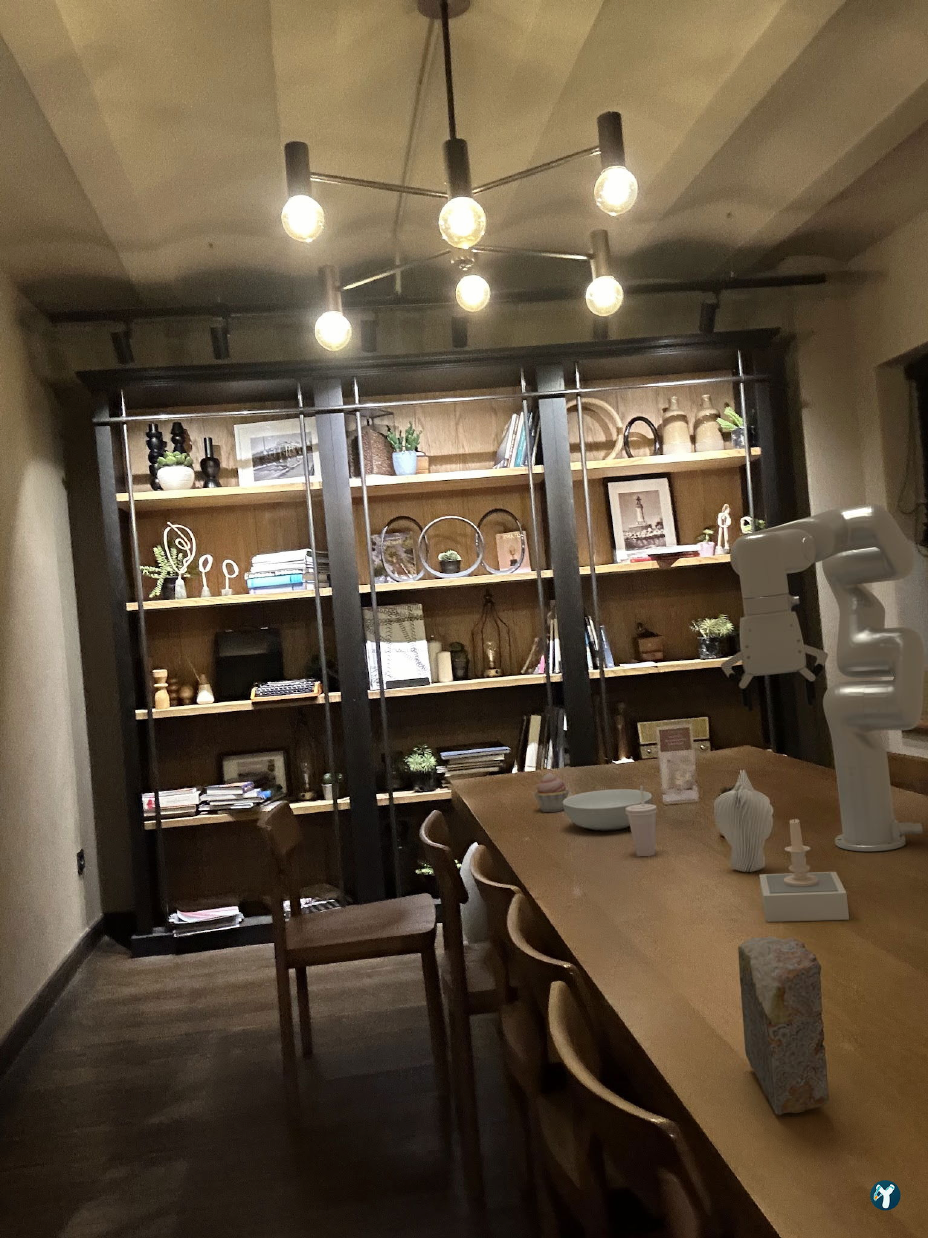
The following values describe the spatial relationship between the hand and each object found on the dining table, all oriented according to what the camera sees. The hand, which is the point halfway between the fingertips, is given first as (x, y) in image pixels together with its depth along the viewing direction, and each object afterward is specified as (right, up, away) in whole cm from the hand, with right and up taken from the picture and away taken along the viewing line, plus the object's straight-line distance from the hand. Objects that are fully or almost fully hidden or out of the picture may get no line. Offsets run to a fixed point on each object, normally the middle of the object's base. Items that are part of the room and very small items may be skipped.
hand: (779, 707), depth 163 cm
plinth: (0, -31, -10) cm, 33 cm away
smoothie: (-16, -33, +34) cm, 51 cm away
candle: (0, -27, -10) cm, 29 cm away
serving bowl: (-19, -34, +64) cm, 75 cm away
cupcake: (-30, -36, +90) cm, 102 cm away
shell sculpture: (0, -32, +15) cm, 35 cm away
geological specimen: (-21, -33, -65) cm, 76 cm away
